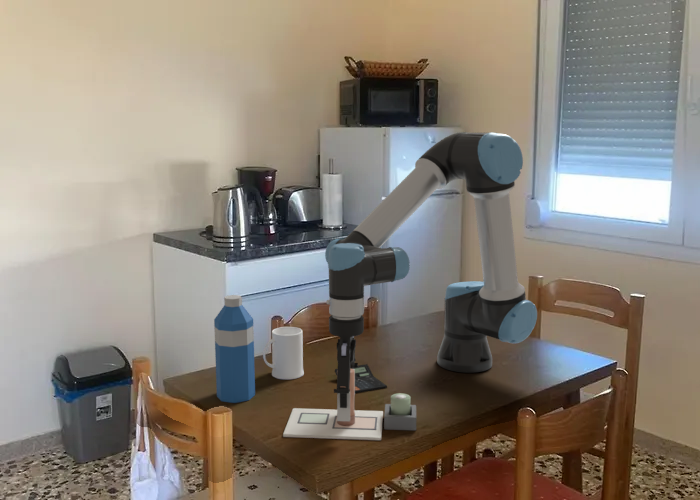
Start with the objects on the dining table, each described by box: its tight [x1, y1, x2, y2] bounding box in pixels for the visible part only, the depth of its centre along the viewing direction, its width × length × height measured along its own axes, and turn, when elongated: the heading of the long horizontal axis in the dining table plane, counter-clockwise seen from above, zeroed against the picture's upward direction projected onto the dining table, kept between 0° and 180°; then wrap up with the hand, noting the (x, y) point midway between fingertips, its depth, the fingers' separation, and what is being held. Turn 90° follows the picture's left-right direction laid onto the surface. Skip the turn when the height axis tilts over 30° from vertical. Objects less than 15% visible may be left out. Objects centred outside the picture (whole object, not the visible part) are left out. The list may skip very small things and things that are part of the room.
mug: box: [262, 326, 305, 381], centre depth 189 cm, size 12×8×12 cm
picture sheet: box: [282, 407, 384, 441], centre depth 160 cm, size 21×14×1 cm, turn 86°
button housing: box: [383, 403, 417, 431], centre depth 160 cm, size 7×7×3 cm
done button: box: [390, 392, 412, 415], centre depth 160 cm, size 4×4×4 cm
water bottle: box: [213, 294, 256, 404], centre depth 174 cm, size 9×9×25 cm
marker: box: [337, 368, 356, 426], centre depth 158 cm, size 4×4×13 cm
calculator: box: [334, 363, 388, 394], centre depth 185 cm, size 9×12×3 cm
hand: (346, 407), depth 159 cm, fingers open, 13 cm apart
